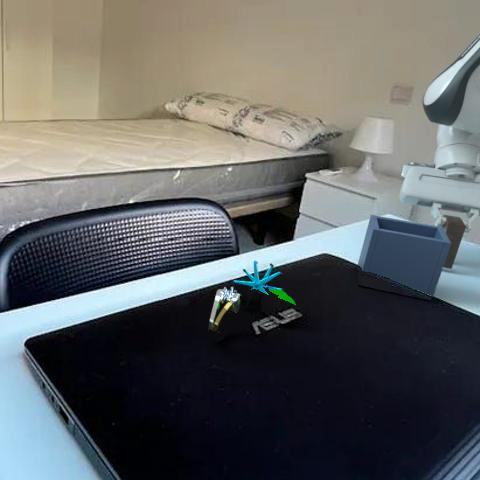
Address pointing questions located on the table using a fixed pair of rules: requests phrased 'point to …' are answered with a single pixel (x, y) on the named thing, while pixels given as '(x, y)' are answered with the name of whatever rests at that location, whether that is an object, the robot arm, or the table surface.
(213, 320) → the ring
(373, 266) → the box
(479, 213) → the robot arm
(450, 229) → the brown wooden block
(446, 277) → the table surface
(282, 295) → the blue flower
